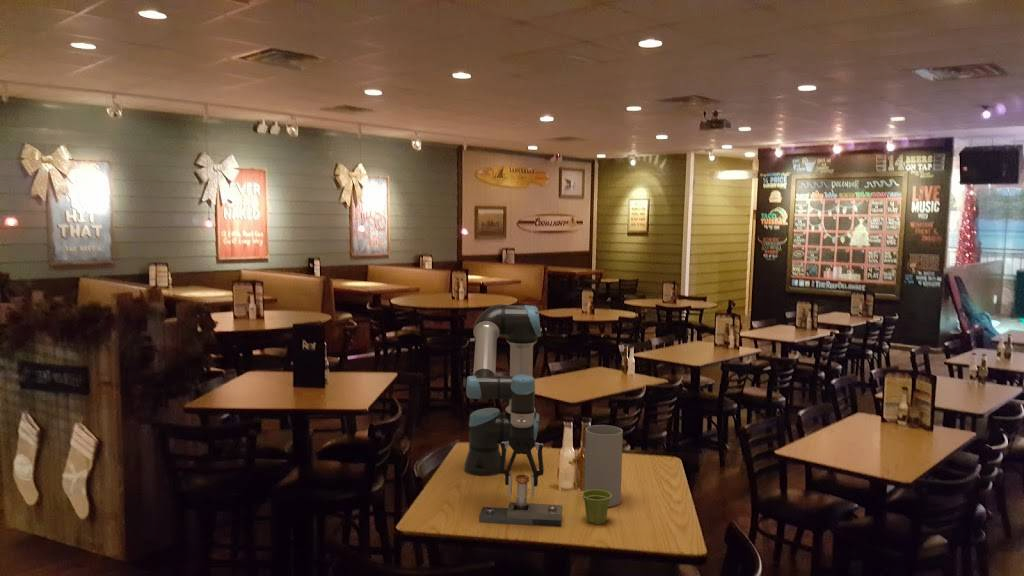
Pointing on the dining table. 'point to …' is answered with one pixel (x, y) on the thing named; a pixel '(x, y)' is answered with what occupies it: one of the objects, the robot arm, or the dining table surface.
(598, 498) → the plant pot
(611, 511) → the dining table surface
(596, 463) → the cylinder vase
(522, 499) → the pin
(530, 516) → the stand base plate
